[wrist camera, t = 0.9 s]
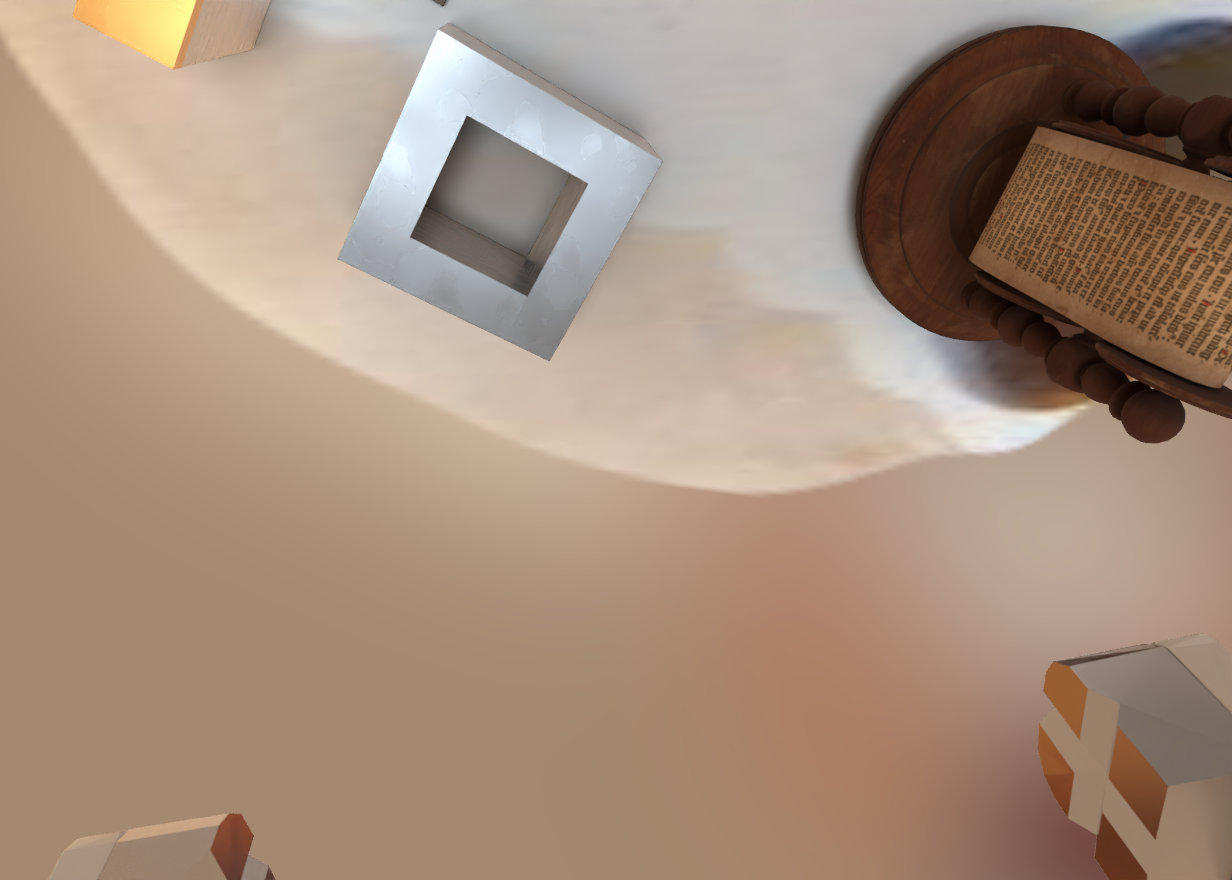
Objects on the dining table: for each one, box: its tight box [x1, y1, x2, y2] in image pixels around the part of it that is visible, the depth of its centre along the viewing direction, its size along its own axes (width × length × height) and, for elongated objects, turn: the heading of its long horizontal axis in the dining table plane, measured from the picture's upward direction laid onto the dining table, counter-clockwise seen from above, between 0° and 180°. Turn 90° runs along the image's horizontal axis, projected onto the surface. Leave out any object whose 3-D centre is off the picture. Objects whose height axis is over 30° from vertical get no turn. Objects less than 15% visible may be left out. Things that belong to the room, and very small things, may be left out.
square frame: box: [338, 23, 663, 361], centre depth 39 cm, size 10×10×6 cm
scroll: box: [856, 25, 1232, 443], centre depth 35 cm, size 15×15×20 cm
